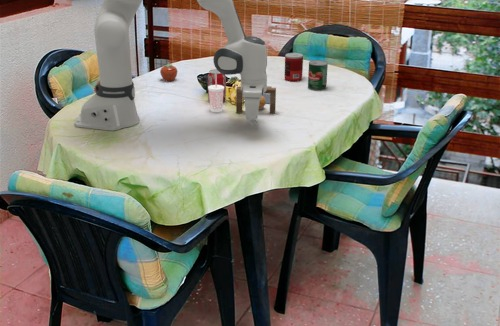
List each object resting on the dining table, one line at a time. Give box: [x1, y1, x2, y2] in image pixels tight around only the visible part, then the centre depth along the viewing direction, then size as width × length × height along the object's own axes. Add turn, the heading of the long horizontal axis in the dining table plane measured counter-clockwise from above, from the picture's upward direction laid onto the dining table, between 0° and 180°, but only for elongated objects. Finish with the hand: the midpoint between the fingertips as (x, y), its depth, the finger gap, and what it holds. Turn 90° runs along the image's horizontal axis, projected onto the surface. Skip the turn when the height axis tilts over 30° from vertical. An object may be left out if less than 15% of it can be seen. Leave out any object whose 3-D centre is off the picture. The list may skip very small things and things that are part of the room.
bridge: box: [235, 86, 277, 115], centre depth 231 cm, size 3×14×9 cm, turn 86°
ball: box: [259, 96, 266, 110], centre depth 235 cm, size 6×6×6 cm
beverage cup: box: [207, 74, 224, 113], centre depth 231 cm, size 6×6×14 cm
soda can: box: [207, 68, 227, 102], centre depth 242 cm, size 7×7×12 cm
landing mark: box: [243, 93, 270, 105], centre depth 247 cm, size 12×12×1 cm
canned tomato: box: [307, 59, 329, 92], centre depth 259 cm, size 8×8×11 cm
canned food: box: [284, 52, 304, 83], centre depth 271 cm, size 8×8×11 cm
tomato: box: [159, 62, 178, 82], centre depth 269 cm, size 7×7×8 cm
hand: (253, 123), depth 216 cm, fingers closed
